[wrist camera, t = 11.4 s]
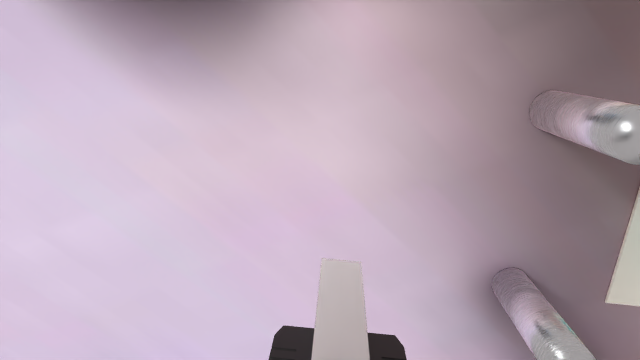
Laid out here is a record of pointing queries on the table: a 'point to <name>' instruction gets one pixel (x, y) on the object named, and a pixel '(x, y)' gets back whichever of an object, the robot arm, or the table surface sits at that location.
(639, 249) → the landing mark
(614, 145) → the post
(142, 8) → the table surface
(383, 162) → the table surface
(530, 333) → the post
